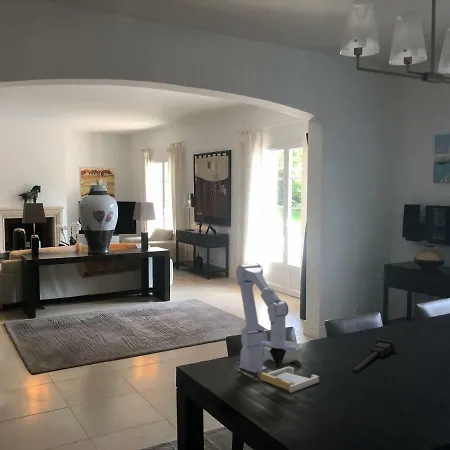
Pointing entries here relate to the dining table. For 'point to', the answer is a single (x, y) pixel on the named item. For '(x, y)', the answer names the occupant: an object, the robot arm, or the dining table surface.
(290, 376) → the hard drive
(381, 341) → the electrical plug
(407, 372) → the dining table surface
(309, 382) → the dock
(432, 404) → the dining table surface
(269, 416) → the dining table surface
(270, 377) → the bar
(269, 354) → the cereal bowl
